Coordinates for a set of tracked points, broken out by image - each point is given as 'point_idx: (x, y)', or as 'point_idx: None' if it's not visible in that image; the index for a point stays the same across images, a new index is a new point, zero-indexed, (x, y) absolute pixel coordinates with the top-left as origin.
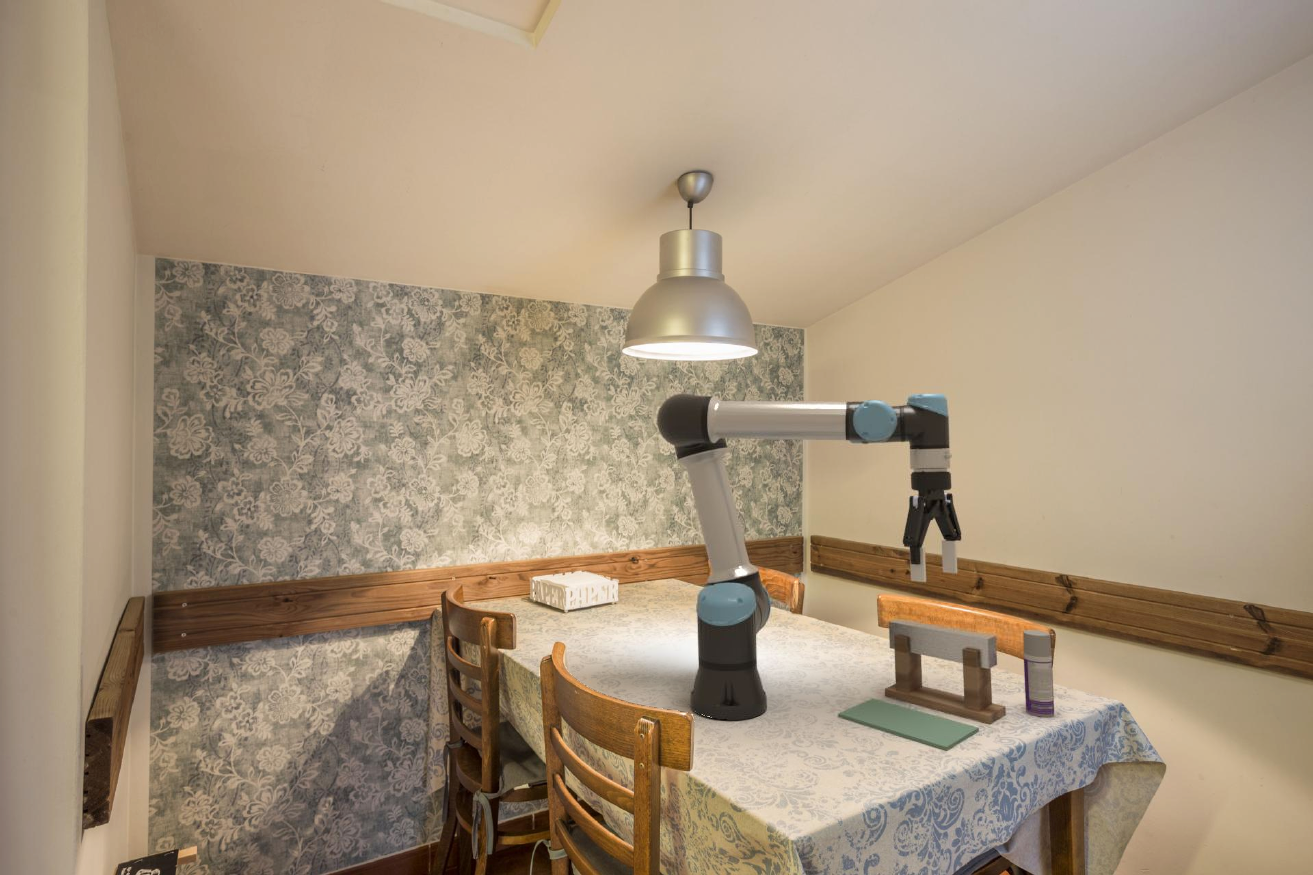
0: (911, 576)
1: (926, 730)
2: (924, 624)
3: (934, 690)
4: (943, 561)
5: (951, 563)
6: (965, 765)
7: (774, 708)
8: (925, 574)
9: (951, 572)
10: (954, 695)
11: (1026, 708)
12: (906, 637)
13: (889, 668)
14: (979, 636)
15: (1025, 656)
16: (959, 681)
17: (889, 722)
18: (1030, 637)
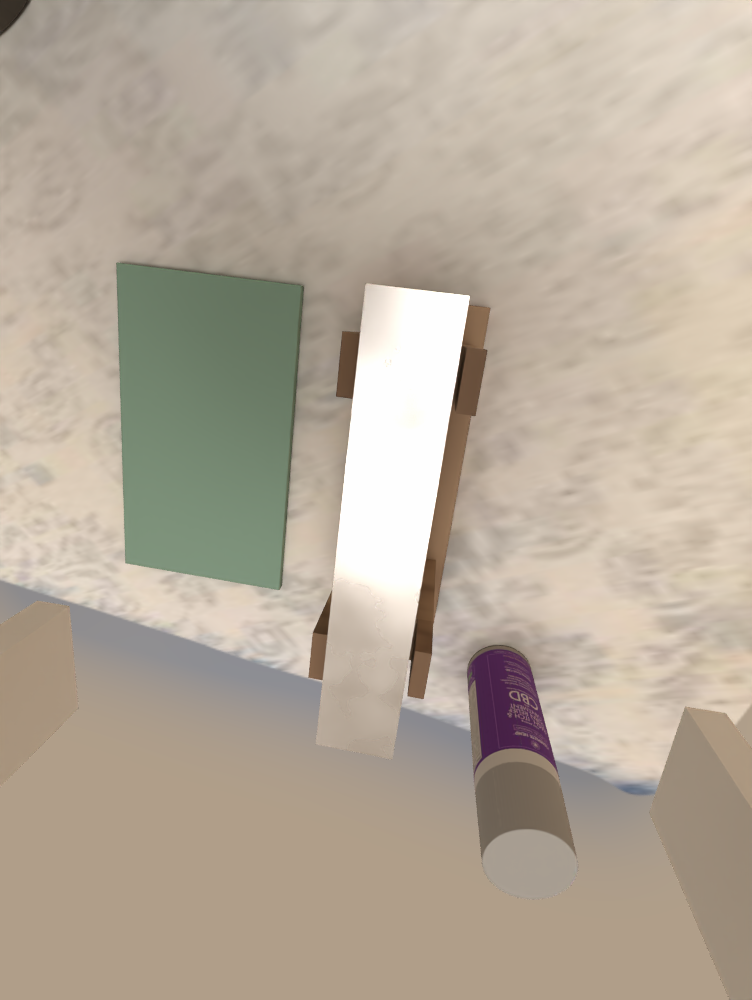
0: (8, 625)
1: (179, 501)
2: (419, 470)
3: (453, 433)
4: (741, 812)
5: (705, 872)
6: (95, 604)
7: (33, 47)
8: (25, 751)
9: (659, 782)
10: (441, 496)
11: (485, 652)
12: (350, 393)
13: (717, 153)
14: (341, 714)
15: (490, 761)
16: (674, 440)
17: (160, 410)
18: (483, 840)
